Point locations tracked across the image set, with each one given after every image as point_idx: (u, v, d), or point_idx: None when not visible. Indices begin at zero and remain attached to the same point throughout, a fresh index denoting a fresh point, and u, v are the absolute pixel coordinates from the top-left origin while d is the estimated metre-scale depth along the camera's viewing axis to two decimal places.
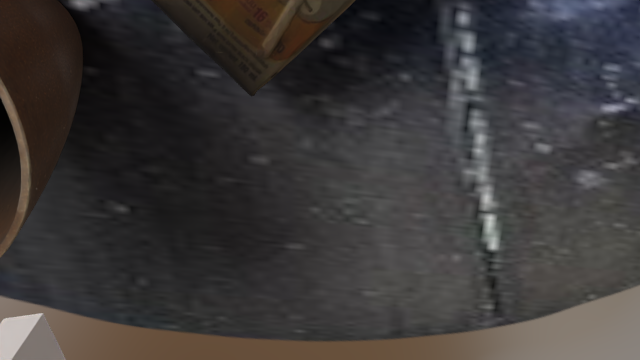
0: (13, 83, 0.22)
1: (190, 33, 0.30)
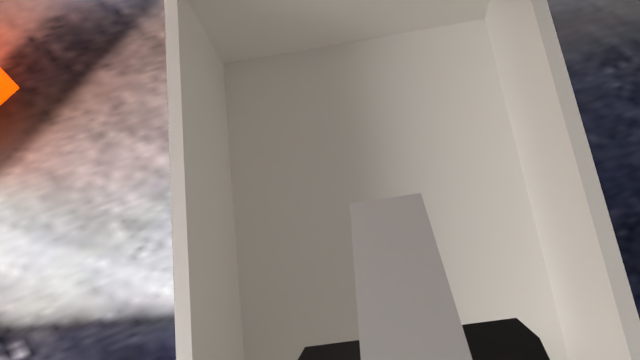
0: None
1: None
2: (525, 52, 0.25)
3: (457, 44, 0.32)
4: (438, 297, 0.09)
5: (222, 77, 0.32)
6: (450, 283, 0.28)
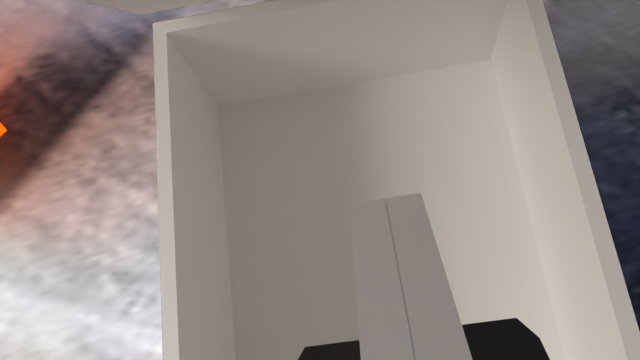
0: None
1: None
2: (535, 105, 0.24)
3: (462, 86, 0.30)
4: (437, 297, 0.09)
5: (217, 121, 0.31)
6: None
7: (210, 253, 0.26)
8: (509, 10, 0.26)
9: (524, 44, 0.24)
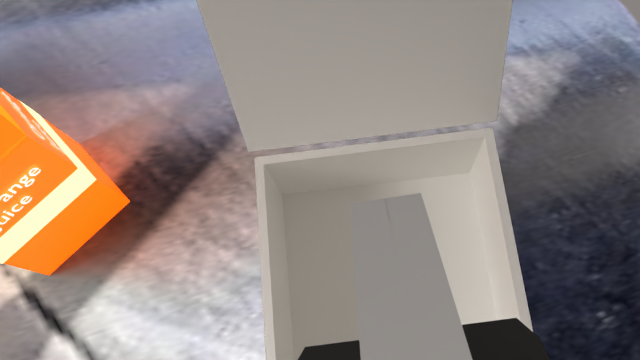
0: None
1: None
2: (493, 221, 0.39)
3: (450, 190, 0.45)
4: (437, 297, 0.09)
5: (282, 207, 0.45)
6: None
7: (283, 302, 0.41)
8: (481, 155, 0.40)
9: (488, 182, 0.39)
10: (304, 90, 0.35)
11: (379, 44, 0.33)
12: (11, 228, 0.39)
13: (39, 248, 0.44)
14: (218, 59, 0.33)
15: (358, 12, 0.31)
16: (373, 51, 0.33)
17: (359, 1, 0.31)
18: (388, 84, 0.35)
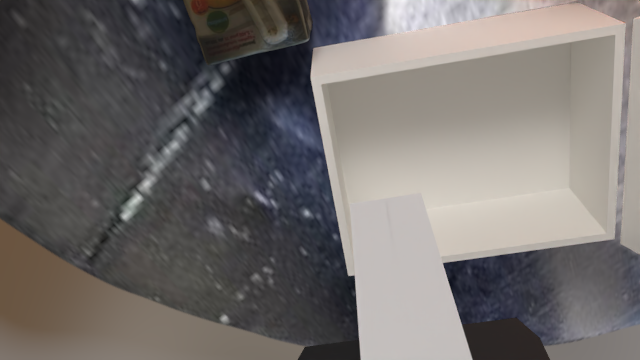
0: None
1: None
2: (525, 227, 0.45)
3: (553, 172, 0.49)
4: (438, 297, 0.09)
5: None
6: (399, 165, 0.49)
7: None
8: (587, 218, 0.45)
9: (562, 227, 0.45)
10: None
11: None
12: None
13: None
14: None
15: None
16: None
17: None
18: None
